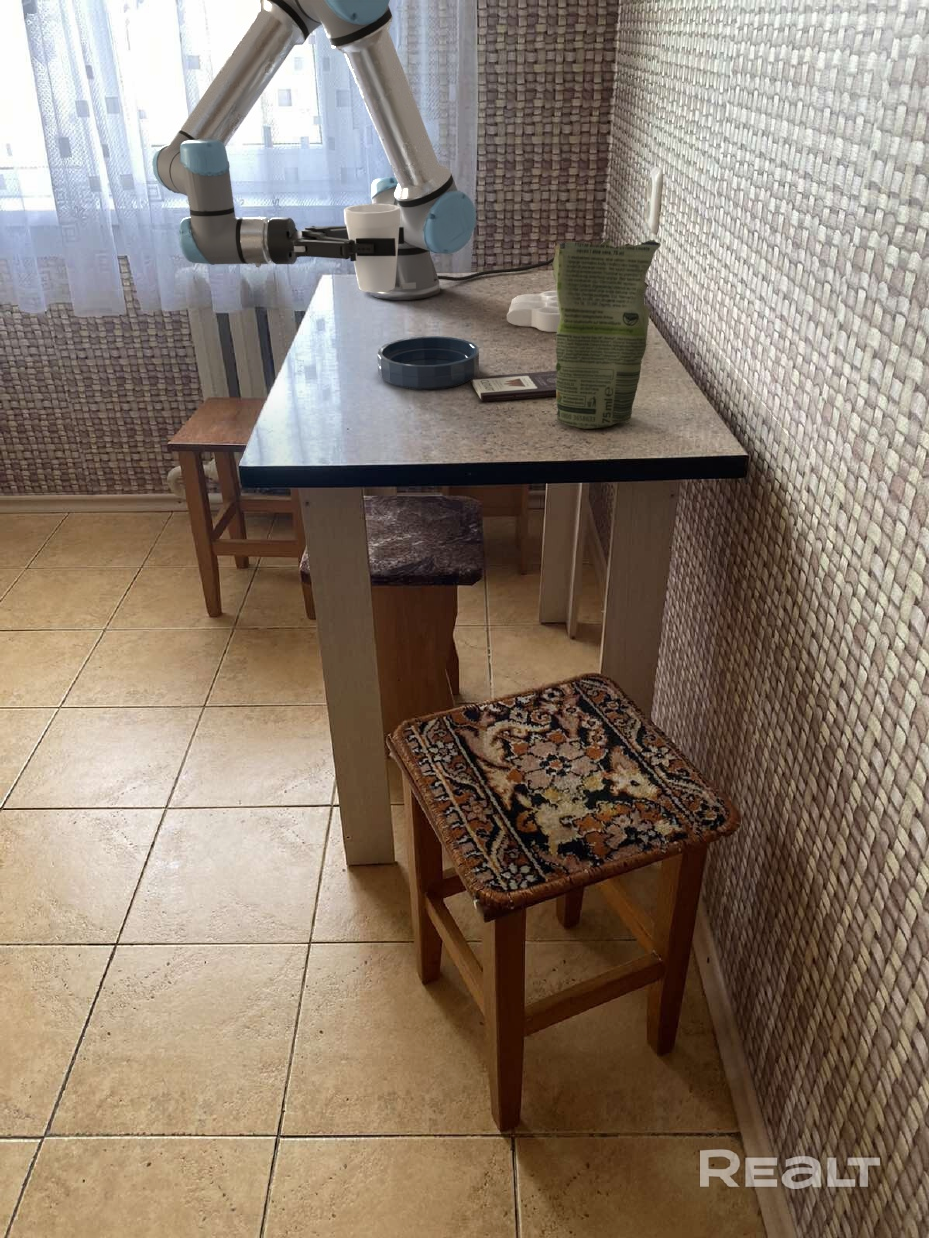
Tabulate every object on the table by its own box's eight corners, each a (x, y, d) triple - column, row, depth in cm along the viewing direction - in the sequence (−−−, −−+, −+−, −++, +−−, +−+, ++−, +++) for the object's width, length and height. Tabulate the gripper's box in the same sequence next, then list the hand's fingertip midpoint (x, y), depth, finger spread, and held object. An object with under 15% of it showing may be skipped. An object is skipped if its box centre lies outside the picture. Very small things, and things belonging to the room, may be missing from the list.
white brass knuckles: (513, 306, 192) (585, 307, 191) (505, 331, 177) (583, 333, 176) (513, 289, 191) (586, 290, 189) (505, 313, 175) (584, 314, 174)
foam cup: (395, 295, 161) (391, 214, 154) (343, 293, 163) (336, 213, 156) (408, 282, 169) (405, 204, 162) (359, 281, 170) (353, 203, 163)
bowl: (442, 353, 166) (441, 330, 164) (499, 377, 155) (499, 353, 153) (360, 372, 158) (358, 348, 156) (414, 398, 147) (413, 373, 145)
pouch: (539, 417, 139) (544, 238, 125) (597, 399, 145) (608, 226, 131) (592, 439, 131) (604, 251, 118) (651, 419, 137) (668, 238, 124)
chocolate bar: (595, 386, 147) (482, 395, 144) (594, 392, 147) (482, 401, 145) (578, 369, 154) (471, 377, 152) (578, 374, 155) (471, 383, 152)
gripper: (289, 250, 174) (409, 250, 172) (257, 278, 156) (391, 279, 154) (284, 207, 170) (407, 206, 168) (250, 230, 152) (388, 230, 150)
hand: (399, 241), depth 161 cm, fingers closed on foam cup, 9 cm apart
